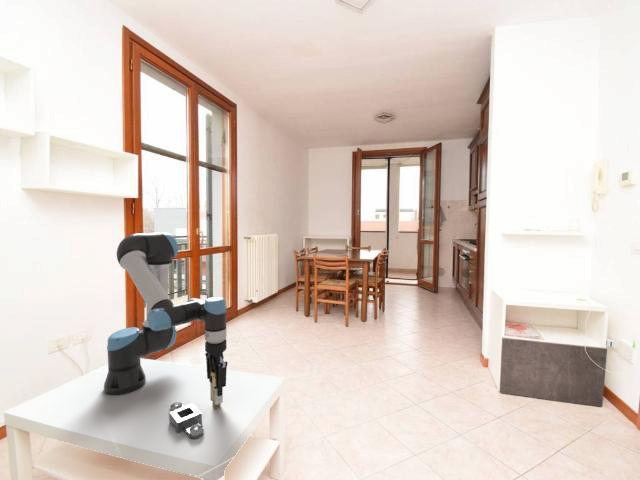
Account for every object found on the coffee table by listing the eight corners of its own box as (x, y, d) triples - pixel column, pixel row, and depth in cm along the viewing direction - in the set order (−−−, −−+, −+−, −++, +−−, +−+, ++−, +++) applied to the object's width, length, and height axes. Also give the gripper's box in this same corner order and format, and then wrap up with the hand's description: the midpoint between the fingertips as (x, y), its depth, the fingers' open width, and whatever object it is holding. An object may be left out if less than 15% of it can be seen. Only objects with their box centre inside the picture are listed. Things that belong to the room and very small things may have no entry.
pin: (209, 405, 120) (208, 371, 120) (219, 401, 123) (218, 368, 122) (213, 410, 117) (213, 375, 117) (224, 405, 120) (223, 372, 119)
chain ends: (162, 413, 116) (162, 403, 116) (185, 404, 122) (185, 395, 122) (186, 443, 100) (185, 433, 100) (210, 432, 106) (210, 422, 106)
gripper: (196, 336, 122) (197, 396, 123) (216, 349, 110) (216, 414, 112) (215, 331, 127) (216, 389, 129) (235, 343, 115) (236, 406, 117)
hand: (216, 401), depth 120 cm, fingers closed on pin, 3 cm apart
